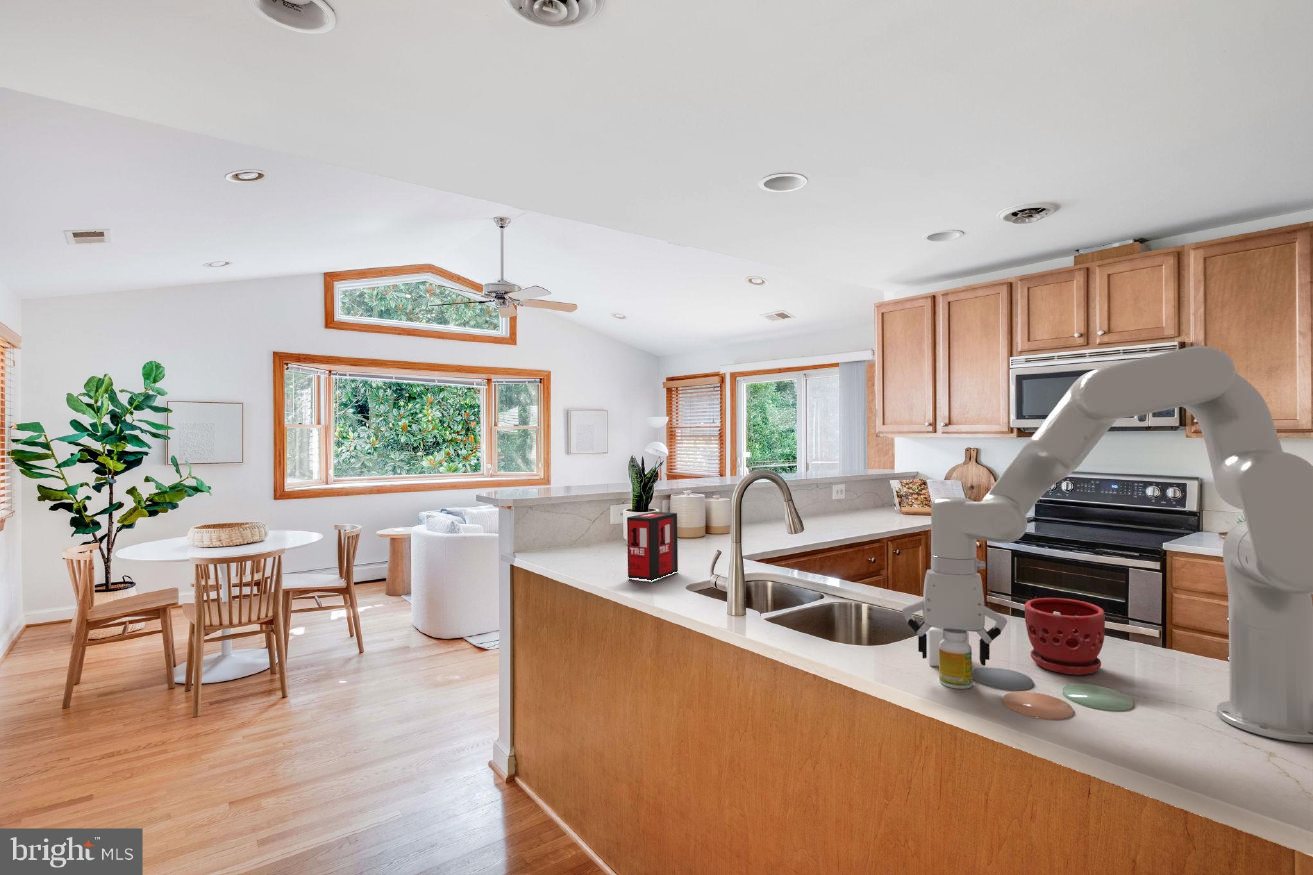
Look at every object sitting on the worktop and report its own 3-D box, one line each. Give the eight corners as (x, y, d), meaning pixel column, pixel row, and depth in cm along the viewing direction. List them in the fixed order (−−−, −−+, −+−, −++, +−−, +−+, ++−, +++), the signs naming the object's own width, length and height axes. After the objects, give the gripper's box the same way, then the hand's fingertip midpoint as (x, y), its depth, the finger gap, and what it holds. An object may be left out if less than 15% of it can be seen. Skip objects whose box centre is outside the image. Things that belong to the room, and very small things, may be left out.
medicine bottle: (962, 657, 132) (961, 598, 132) (969, 669, 125) (968, 607, 125) (924, 654, 134) (924, 596, 134) (929, 666, 127) (928, 605, 127)
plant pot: (1018, 653, 134) (1017, 595, 134) (1092, 659, 130) (1091, 599, 130) (1034, 676, 121) (1033, 611, 121) (1116, 683, 117) (1115, 616, 117)
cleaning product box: (655, 570, 221) (654, 511, 221) (677, 573, 217) (677, 513, 217) (627, 579, 207) (627, 517, 207) (651, 582, 203) (650, 518, 203)
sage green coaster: (1120, 691, 114) (1120, 687, 114) (1143, 716, 105) (1143, 711, 105) (1055, 685, 117) (1055, 680, 117) (1072, 708, 108) (1072, 703, 108)
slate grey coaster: (1027, 675, 123) (1027, 670, 123) (1038, 695, 113) (1038, 690, 113) (969, 669, 126) (969, 665, 126) (974, 688, 117) (974, 683, 117)
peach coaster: (1064, 700, 111) (1064, 695, 111) (1080, 724, 102) (1080, 719, 102) (998, 693, 114) (998, 688, 114) (1008, 716, 105) (1008, 711, 105)
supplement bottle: (971, 691, 114) (970, 636, 114) (937, 686, 117) (937, 632, 117) (972, 681, 119) (972, 628, 119) (941, 676, 122) (940, 624, 122)
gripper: (1004, 565, 118) (1003, 659, 118) (902, 558, 125) (902, 647, 125) (1010, 573, 111) (1009, 673, 111) (902, 566, 118) (901, 660, 118)
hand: (953, 659), depth 118 cm, fingers open, 9 cm apart
